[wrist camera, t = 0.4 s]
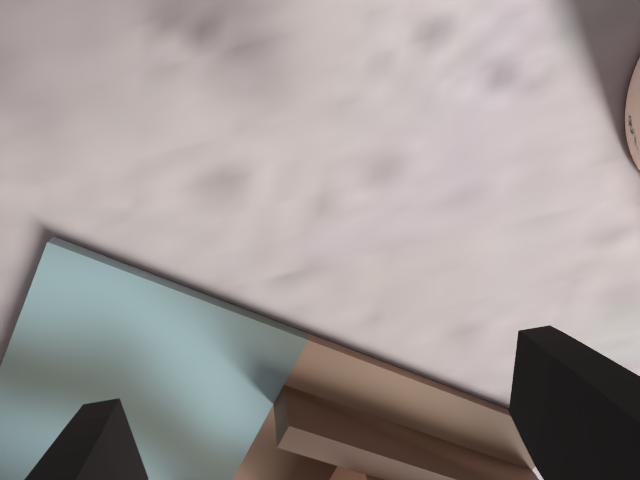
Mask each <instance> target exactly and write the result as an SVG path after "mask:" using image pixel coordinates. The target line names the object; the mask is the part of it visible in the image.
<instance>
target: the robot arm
mask: <svg viewBox="0 0 640 480" xmlns="http://www.w3.org/2000/svg"><path fill="white" fill-rule="evenodd" d="M509 413H510V415H511V417H512V420H513V422H514V424H515V426H516V428H517V430H518V432H519V435H520V437H521V439H522V441H523V443H524V445H525V447H526V449H527V451H528V453H529V455H530V457H531V459H532V461H533V463H534V465H535V466H536V468H537V469H538V471H539V473H540V474H541V476H542V477H543V479H544V480H640V376H638V375H636V374H635V373H633V372H631V371H629V370H628V369H626V368H624V367H622V366H621V365H619V364H617V363H616V362H614V361H612V360H610V359H609V358H607V357H605V356H603V355H602V354H600V353H598V352H597V351H595V350H593V349H591V348H590V347H588V346H586V345H584V344H583V343H581V342H579V341H577V340H576V339H574V338H572V337H570V336H569V335H567V334H565V333H563V332H561V331H559V330H558V329H556V328H554V327H552V326H544V327H538V328H532V329H526V330H520V331H519V332H518V340H517V349H516V357H515V366H514V374H513V382H512V391H511V399H510V407H509ZM24 480H148V476H147V473H146V470H145V467H144V465H143V462H142V459H141V456H140V453H139V451H138V448H137V445H136V442H135V440H134V437H133V434H132V431H131V428H130V426H129V423H128V420H127V417H126V414H125V412H124V409H123V406H122V403H121V400H120V398H118V399H112V400H106V401H100V402H94V403H88V404H83V405H82V407H81V408H80V409H79V410H78V412H77V413H76V414H75V415H74V417H73V418H72V419H71V420H70V421H69V423H68V424H67V425H66V427H65V428H64V429H63V430H62V432H61V433H60V434H59V436H58V437H57V438H56V439H55V441H54V442H53V443H52V445H51V446H50V447H49V448H48V450H47V451H46V452H45V454H44V455H43V456H42V458H41V459H40V460H39V461H38V463H37V464H36V465H35V467H34V468H33V469H32V470H31V472H30V473H29V474H28V476H27V477H26V478H25V479H24Z"/></svg>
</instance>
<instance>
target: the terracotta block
mask: <svg viewBox="0 0 640 480" xmlns="http://www.w3.org/2000/svg"><path fill="white" fill-rule="evenodd" d="M329 480H382V479H378V478H375V477H372V476H368V475H365V474H362V473H359V472H355V471H352V470H349V469H346V468H342V467H339V466H337V468H336V469H335V471H334V473H333V474H332V476H331V478H330V479H329Z"/></svg>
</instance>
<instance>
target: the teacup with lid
mask: <svg viewBox="0 0 640 480" xmlns="http://www.w3.org/2000/svg"><path fill="white" fill-rule="evenodd" d="M625 131H626V137H627V142H628V146H629V150H630V153H631V155H632V158H633V160H634V162H635V164H636V166H637V168H638V169H639V171H640V58H639V60H638V62H637V64H636V67H635V69H634V72H633V75H632V78H631V81H630V85H629V89H628V94H627V99H626V107H625Z"/></svg>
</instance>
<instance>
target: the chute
mask: <svg viewBox="0 0 640 480" xmlns="http://www.w3.org/2000/svg"><path fill="white" fill-rule="evenodd" d="M118 398H120V400H121V403H122V406H123V409H124V412H125V414H126V417H127V420H128V423H129V426H130V428H131V431H132V434H133V437H134V440H135V442H136V445H137V448H138V451H139V453H140V456H141V459H142V462H143V465H144V467H145V470H146V473H147V476H148V480H329V479H330V478H331V476H332V474H333V473H334V471H335V469H336V468H337V466H339V467H342V468H346V469H349V470H352V471H355V472H359V473H362V474H365V475H368V476H372V477H375V478H378V479H382V480H539V479H538V478H537V476H536V475H535V474H534V472H533V471H532V469H533V468H534V467H535V465H534V463H533V461H532V459H531V457H530V455H529V453H528V451H527V449H526V447H525V445H524V443H523V441H522V439H521V437H520V435H519V432H518V430H517V428H516V426H515V424H514V422H513V420H512V417H511V415H510V413H509V409H506V408H503V407H501V406H498V405H496V404H493V403H490V402H488V401H485V400H482V399H480V398H477V397H474V396H472V395H469V394H467V393H464V392H461V391H459V390H456V389H453V388H451V387H448V386H446V385H443V384H440V383H438V382H435V381H432V380H430V379H427V378H425V377H422V376H419V375H417V374H414V373H411V372H409V371H406V370H403V369H401V368H398V367H396V366H393V365H390V364H388V363H385V362H382V361H380V360H377V359H375V358H372V357H369V356H367V355H364V354H361V353H359V352H356V351H353V350H351V349H348V348H346V347H343V346H340V345H338V344H335V343H332V342H330V341H327V340H325V339H322V338H319V337H317V336H314V335H311V334H309V333H306V332H304V331H301V330H298V329H296V328H293V327H290V326H288V325H285V324H282V323H280V322H277V321H275V320H272V319H269V318H267V317H264V316H261V315H259V314H256V313H254V312H251V311H248V310H246V309H243V308H240V307H238V306H235V305H232V304H230V303H227V302H225V301H222V300H219V299H217V298H214V297H211V296H209V295H206V294H204V293H201V292H198V291H196V290H193V289H190V288H188V287H185V286H183V285H180V284H177V283H175V282H172V281H169V280H167V279H164V278H161V277H159V276H156V275H154V274H151V273H148V272H146V271H143V270H140V269H138V268H135V267H133V266H130V265H127V264H125V263H122V262H119V261H117V260H114V259H111V258H109V257H106V256H104V255H101V254H98V253H96V252H93V251H90V250H88V249H85V248H83V247H80V246H77V245H75V244H72V243H69V242H67V241H64V240H62V239H59V238H56V237H54V236H53V237H52V238H51V239H50V240H49V241H48V242H47V244H46V247H45V249H44V252H43V255H42V257H41V260H40V262H39V265H38V268H37V270H36V273H35V276H34V278H33V281H32V284H31V286H30V289H29V292H28V294H27V297H26V300H25V302H24V305H23V308H22V310H21V313H20V316H19V318H18V321H17V324H16V326H15V329H14V332H13V334H12V337H11V340H10V342H9V345H8V348H7V350H6V353H5V355H4V358H3V361H2V363H1V366H0V480H24V479H25V478H26V477H27V476H28V474H29V473H30V472H31V470H32V469H33V468H34V467H35V465H36V464H37V463H38V461H39V460H40V459H41V458H42V456H43V455H44V454H45V452H46V451H47V450H48V448H49V447H50V446H51V445H52V443H53V442H54V441H55V439H56V438H57V437H58V436H59V434H60V433H61V432H62V430H63V429H64V428H65V427H66V425H67V424H68V423H69V421H70V420H71V419H72V418H73V417H74V415H75V414H76V413H77V412H78V410H79V409H80V408H81V407H82V405H83V404H88V403H94V402H100V401H106V400H112V399H118Z"/></svg>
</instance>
